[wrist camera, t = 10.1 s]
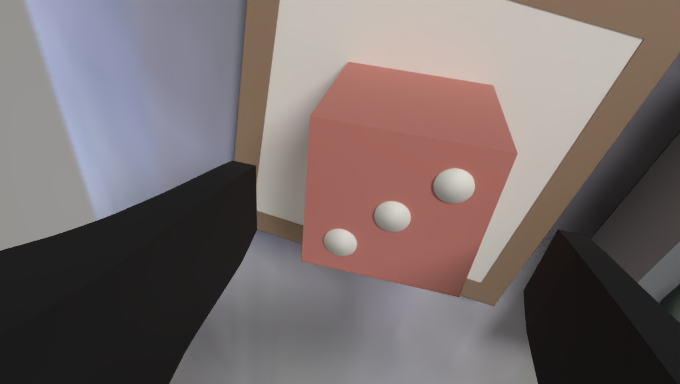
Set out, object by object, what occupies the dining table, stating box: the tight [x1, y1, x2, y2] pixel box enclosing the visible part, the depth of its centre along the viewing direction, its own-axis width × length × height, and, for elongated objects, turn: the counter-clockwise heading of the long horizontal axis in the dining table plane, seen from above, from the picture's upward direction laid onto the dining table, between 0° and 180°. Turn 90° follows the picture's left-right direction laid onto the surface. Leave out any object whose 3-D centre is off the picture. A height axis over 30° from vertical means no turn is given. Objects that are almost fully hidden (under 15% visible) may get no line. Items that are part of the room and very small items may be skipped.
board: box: [234, 0, 680, 306], centre depth 14 cm, size 12×12×1 cm
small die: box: [301, 62, 518, 297], centre depth 11 cm, size 4×4×5 cm
